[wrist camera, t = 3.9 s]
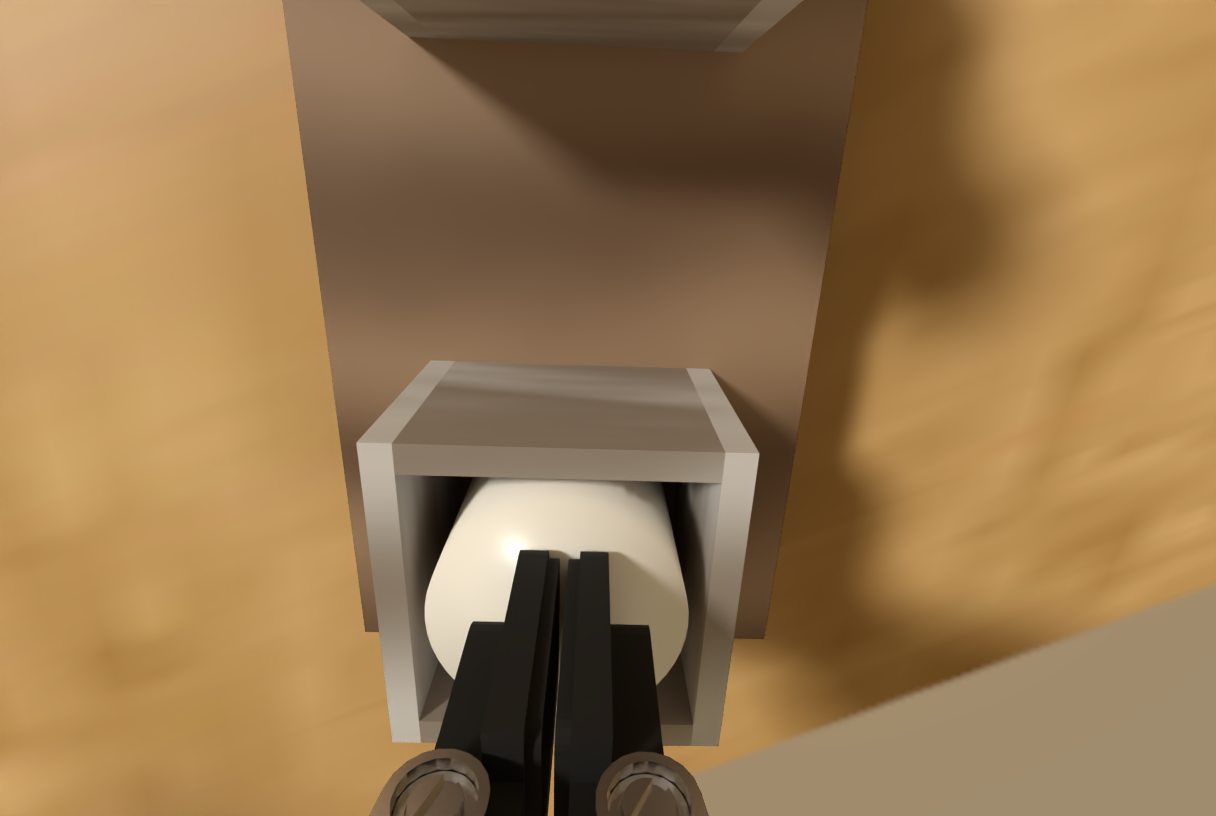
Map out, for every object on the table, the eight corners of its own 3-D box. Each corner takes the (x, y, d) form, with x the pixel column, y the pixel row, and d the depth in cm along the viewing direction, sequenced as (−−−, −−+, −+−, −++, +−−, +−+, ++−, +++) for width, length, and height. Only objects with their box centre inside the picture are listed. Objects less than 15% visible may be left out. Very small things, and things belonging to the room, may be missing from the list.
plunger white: (656, 573, 17) (677, 722, 12) (478, 569, 17) (433, 718, 12) (669, 409, 15) (700, 510, 11) (470, 403, 15) (414, 503, 11)
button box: (735, 561, 22) (821, 796, 14) (405, 553, 22) (284, 790, 13) (856, -341, 14) (1279, -1182, 5) (315, -378, 13) (-178, -1345, 5)
